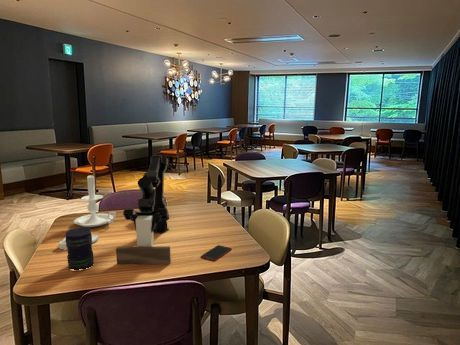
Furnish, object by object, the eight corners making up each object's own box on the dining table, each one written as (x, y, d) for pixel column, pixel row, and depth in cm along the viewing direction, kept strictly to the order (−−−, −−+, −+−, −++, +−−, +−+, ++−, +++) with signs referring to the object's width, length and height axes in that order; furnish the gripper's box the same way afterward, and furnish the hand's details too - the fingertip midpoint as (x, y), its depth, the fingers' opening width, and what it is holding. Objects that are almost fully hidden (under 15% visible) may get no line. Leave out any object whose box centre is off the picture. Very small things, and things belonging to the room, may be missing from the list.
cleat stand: (124, 253, 159) (123, 239, 158) (173, 253, 160) (172, 238, 158) (117, 264, 148) (115, 249, 147) (170, 263, 149) (169, 248, 147)
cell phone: (199, 258, 155) (199, 256, 155) (218, 246, 167) (218, 244, 167) (214, 262, 151) (214, 260, 151) (232, 250, 163) (232, 248, 163)
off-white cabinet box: (139, 243, 155) (138, 215, 153) (153, 243, 155) (152, 215, 153) (137, 248, 150) (135, 219, 148) (151, 247, 150) (150, 219, 148)
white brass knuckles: (77, 253, 161) (51, 249, 166) (103, 239, 178) (79, 235, 182) (77, 246, 160) (51, 242, 165) (102, 232, 177) (78, 229, 182)
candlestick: (104, 233, 184) (100, 180, 179) (65, 228, 192) (60, 177, 186) (127, 221, 203) (124, 173, 198) (91, 217, 211) (87, 170, 206)
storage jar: (68, 273, 141) (64, 237, 138) (68, 263, 150) (65, 229, 147) (94, 268, 145) (91, 233, 142) (93, 259, 154) (90, 226, 151)
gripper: (122, 190, 152) (117, 224, 143) (166, 190, 152) (163, 223, 144) (128, 203, 161) (123, 235, 153) (169, 202, 162) (167, 234, 153)
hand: (144, 232), depth 150 cm, fingers closed on off-white cabinet box, 6 cm apart
